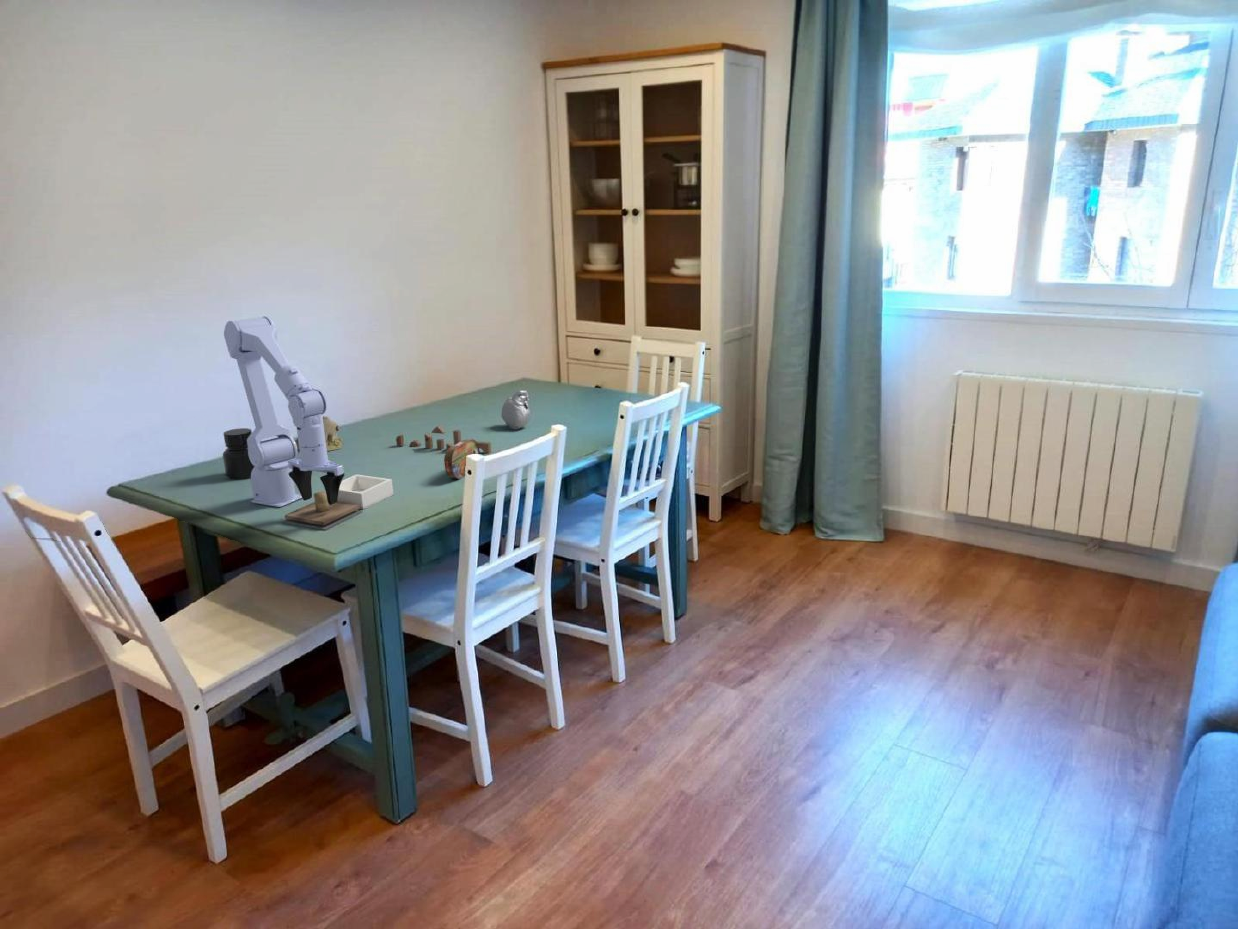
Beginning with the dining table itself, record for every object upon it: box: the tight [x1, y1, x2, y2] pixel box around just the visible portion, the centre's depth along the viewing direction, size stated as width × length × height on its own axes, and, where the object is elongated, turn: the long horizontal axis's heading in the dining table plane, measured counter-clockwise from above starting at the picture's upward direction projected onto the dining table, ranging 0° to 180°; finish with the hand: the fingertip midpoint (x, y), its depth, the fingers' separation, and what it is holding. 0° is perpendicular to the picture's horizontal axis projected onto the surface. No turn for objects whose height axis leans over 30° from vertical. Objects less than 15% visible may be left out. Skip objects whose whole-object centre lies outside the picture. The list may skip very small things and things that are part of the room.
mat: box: [281, 509, 363, 531], centre depth 199 cm, size 13×12×1 cm
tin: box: [443, 438, 481, 480], centre depth 226 cm, size 15×3×8 cm, turn 161°
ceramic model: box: [294, 415, 343, 452], centre depth 254 cm, size 14×11×10 cm
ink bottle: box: [222, 428, 255, 480], centre depth 229 cm, size 10×9×12 cm
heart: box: [500, 390, 531, 431], centre depth 269 cm, size 10×10×12 cm
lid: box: [284, 491, 360, 525], centre depth 198 cm, size 12×12×5 cm
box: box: [337, 473, 394, 511], centre depth 209 cm, size 11×11×4 cm
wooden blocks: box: [395, 424, 492, 455], centre depth 249 cm, size 30×3×7 cm, turn 72°
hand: (320, 501), depth 198 cm, fingers open, 7 cm apart
